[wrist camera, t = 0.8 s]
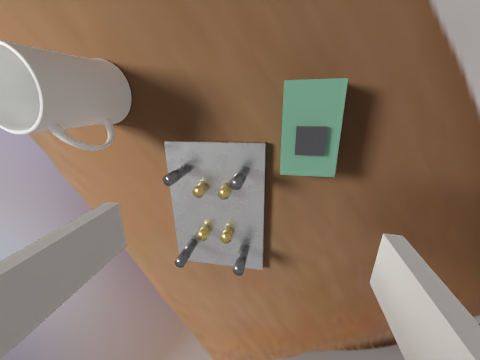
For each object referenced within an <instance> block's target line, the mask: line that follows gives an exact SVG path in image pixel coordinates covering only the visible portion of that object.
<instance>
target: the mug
mask: <svg viewBox="0 0 480 360" xmlns="http://www.w3.org/2000/svg"><path fill="white" fill-rule="evenodd" d="M131 101H132V97H131V90H130V86H129V84H128V81H127V79H126V77H125V76H124V74H123V73H122V72H121V70H120V69H119V68H118V67H117V66H115V65H114V64H113V63H111V62H109V61H107V60H104V59H100V58H93V59H91V58H85V57H80V56H76V55H71V54H66V53H61V52H56V51H52V50H47V49H42V48H37V47H32V46H27V45H23V44H18V43H13V42H8V41H3V40H0V128H2V129H4V130H6V131H8V132H11V133H14V134H30V133H38V132H45V131H50V132H51V133H53V134H54V135H55V136H56V137H58V138H59V139H61V140H62V141H64V142H66V143H68V144H70V145H72V146H74V147H77V148H80V149H84V150H91V151H96V150H102V149H105V148H107V147H108V146H109V145H111V143H112V142H113V140H114V137H115V130H114V126H113V124H116V123H119V122H121V121H122V120H123V119H124V118H125V117H126V116H127V115H128V113H129V111H130V107H131ZM98 124H104V125H105V127H106V129H107V132H108V139H107V142H106V143H105V144H103V145H90V144H86V143H83V142H81V141H79V140H77V139H75V138H73V137H72V136H70V135H69V134H68V133H66V132H65V131H64V130H63V129H68V128H75V127H82V126H90V125H98Z"/></svg>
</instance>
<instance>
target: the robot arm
mask: <svg viewBox="0 0 480 360" xmlns="http://www.w3.org/2000/svg"><path fill="white" fill-rule="evenodd" d="M126 246H127V244H126V239H125V234H124V228H123V223H122V217H121V212H120V207H119V203H112V202H105V203H104V204H102V205H100V206H98V207H97V208H95V209H93V210H91V211H89V212H88V213H86V214H84V215H82V216H80V217H79V218H77V219H75V220H73V221H71V222H70V223H68V224H66V225H64V226H63V227H61V228H59V229H57V230H55V231H54V232H52V233H50V234H48V235H46V236H45V237H43V238H41V239H39V240H37V241H36V242H34V243H32V244H30V245H28V246H27V247H25V248H23V249H21V250H19V251H18V252H16V253H14V254H12V255H11V256H9V257H7V258H5V259H3V260H2V261H0V360H1V359H2V358H3V357H4V356H5V355H6V354H8V353H9V352H10V351H11V350H12V349H13V348H14V347H15V346H16V345H17V344H18V343H20V342H21V341H22V340H23V339H24V338H25V337H26V336H27V335H29V334H30V333H31V332H32V331H33V330H34V329H35V328H36V327H37V326H39V325H40V324H41V323H42V322H43V321H44V320H45V319H46V318H47V317H48V316H50V315H51V314H52V313H53V312H54V311H55V310H56V309H57V308H58V307H60V306H61V305H62V304H63V303H64V302H65V301H66V300H67V299H68V298H70V297H71V296H72V295H73V294H74V293H75V292H76V291H77V290H78V289H79V288H81V287H82V286H83V285H84V284H85V283H86V282H87V281H88V280H90V279H91V278H92V276H94V275H95V274H96V273H97V272H98V271H99V270H101V269H102V268H103V267H104V266H105V265H106V264H107V263H108V262H109V261H111V260H112V259H113V258H114V257H115V256H116V255H117V254H118V253H119V252H121V251H122V250H123V249H124V248H125V247H126ZM370 285H371V287H372V289H373V291H374V293H375V296H376V298H377V300H378V302H379V304H380V307H381V309H382V311H383V313H384V315H385V317H386V320H387V322H388V324H389V326H390V328H391V331H392V333H393V335H394V337H395V339H396V342H397V344H398V346H399V348H400V350H401V352H402V355H403V357H404V359H405V360H480V324H478V322H477V321H476V320H475V319H474V318H473V317H472V315H471V314H470V313H469V312H468V311H467V310H466V308H465V307H464V306H463V305H462V304H461V303H460V302H459V300H458V299H457V298H456V297H455V296H454V295H453V293H452V292H451V291H450V290H449V289H448V288H447V286H446V285H445V284H444V283H443V282H442V281H441V280H440V278H439V277H438V276H437V275H436V274H435V273H434V271H433V270H432V269H431V268H430V267H429V266H428V264H427V263H426V262H425V261H424V260H423V259H422V258H421V256H420V255H419V254H418V253H417V252H416V251H415V249H414V248H413V247H412V246H411V245H410V244H409V242H408V241H407V240H406V239H405V238H404V237H403V236H401V235H392V234H384V233H383V236H382V240H381V243H380V247H379V250H378V254H377V258H376V261H375V265H374V269H373V272H372V276H371V279H370Z"/></svg>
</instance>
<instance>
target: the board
mask: <svg viewBox="0 0 480 360" xmlns="http://www.w3.org/2000/svg"><path fill="white" fill-rule="evenodd" d="M347 84H348V78H340V79H310V80H284V96H283V118H282V139H281V160H280V175H300V176H322V177H335V171H336V164H337V156H338V149H339V142H340V135H341V127H342V120H343V113H344V105H345V98H346V91H347Z"/></svg>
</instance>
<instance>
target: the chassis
mask: <svg viewBox="0 0 480 360" xmlns="http://www.w3.org/2000/svg"><path fill="white" fill-rule="evenodd" d="M164 145H165V153H166V160H167V168H168V174H167V175H165V176H164V177H163V182H164V183H165V184H166V185H167V186H170V190H171V198H172V205H173V212H174V220H175V227H176V235H177V242H178V250H179V256H178V258H177V259H176V261H175V265H176V266H177V267H180V268H182V267H184V265H185V263H186V262H187V260H188V261H195V262H203V263H211V264H219V265H227V266H234V269H233V272H234V274H236V275H242V274H243V272H244V268H250V269H258V270H263V247H264V206H265V164H266V142H234V141H180V140H167V141H164Z"/></svg>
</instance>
